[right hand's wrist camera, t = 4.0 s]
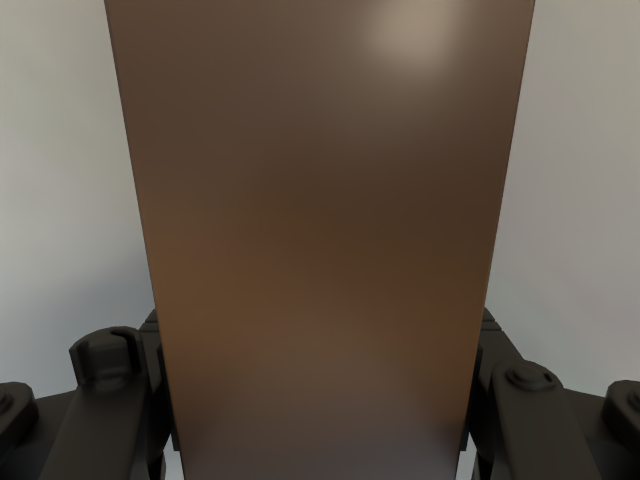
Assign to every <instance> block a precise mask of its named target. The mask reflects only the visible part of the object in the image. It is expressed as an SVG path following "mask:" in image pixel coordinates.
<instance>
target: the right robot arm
mask: <svg viewBox="0 0 640 480" xmlns="http://www.w3.org/2000/svg"><path fill="white" fill-rule="evenodd" d="M69 353H70V357H71V361H72V364H73V368H74V372H75V376H76V379H77V383H78V386H77V388H76V390H74V391H70V392H66V393H62V394H57V395H53V396H48V397H43V398H38V399H35V397H34V394H33V391H32V388H31V387H29V386H28V385H27V384H26V383H19V382H9V383H1V384H0V480H165V473H166V463H165V457H164V451H163V450H164V447H165V445H166V443H167V440H168V438H169V436H170V433H171V437H172V443H173V449H174V451H179V445H178V439H177V433H176V427H175V421H174V415H173V409H172V403H171V397H170V391H169V385H168V379H167V373H166V367H165V361H164V355H163V349H162V343H161V337H160V331H159V325H158V319H157V314H156V308H155V309H154V310H153V311H152V312H151V313H150V315H149V316H148V318H147V319H146V320H145V323H143V325H142V326H141V327H140V329H139V330H137V329H135V328H131V327H127V326H120V327H110V328H105V329H101V330H98V331H95V332H93V333H90V334H88V335H86V336H84V337H83V338H81V339H80V340H78V341H77V342H75V343H74V345H73V346H72V347H71V348H70V349H69ZM469 432H470V434H471V437H472V439H473V441H474V444H475V446H476V448H477V451H476V457H475V462H474V468H473V473H472V478H471V480H640V382H638V381H630V380H622V381H615V382H614V383H612V384H611V385H610V386H609V387H608V390H607V393H606V396H605V397H600V396H596V395H591V394H586V393H582V392H577V391H573V390H569V389H565V388H563V385H562V383H561V382H560V381H559V379H558V378H557V376H556V375H554V374H553V373H552V372H550V371H549V370H548V369H547V368H545V367H543V366H541V365H538V364H536V363H534V362H531V361H527V360H524V359H523V357H522V356H521V355H520V353H519V352H518V351H517V349H516V348H515V346H514V345H513V344H512V342H511V341H510V340H509V338H508V337H507V335H506V334H505V333H504V331H502V329H501V327H500V326H499V325H498V323H497V322H495V319H494V318H493V316H492V315H491V314H490V312H489V311H488V309H487V308H485V307H484V311H483V317H482V323H481V329H480V335H479V341H478V347H477V353H476V359H475V365H474V371H473V377H472V383H471V389H470V395H469V401H468V407H467V413H466V419H465V425H464V431H463V437H462V443H461V449H460V451H466V447H467V442H468V436H469Z"/></svg>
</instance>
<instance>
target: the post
mask: <svg viewBox="0 0 640 480" xmlns="http://www.w3.org/2000/svg"><path fill="white" fill-rule="evenodd" d="M104 3H105V9H106V15H107V21H108V27H109V33H110V39H111V44H112V50H113V56H114V62H115V68H116V74H117V80H118V86H119V92H120V98H121V104H122V110H123V116H124V122H125V128H126V134H127V140H128V146H129V152H130V158H131V164H132V170H133V176H134V182H135V188H136V194H137V200H138V206H139V212H140V218H141V224H142V230H143V236H144V242H145V248H146V254H147V260H148V266H149V272H150V278H151V284H152V290H153V296H154V302H155V308H156V314H157V319H158V325H159V331H160V337H161V343H162V349H163V355H164V361H165V367H166V373H167V379H168V385H169V391H170V397H171V403H172V409H173V415H174V421H175V427H176V433H177V439H178V445H179V451H180V457H181V463H182V469H183V475H184V480H455V479H456V473H457V467H458V461H459V455H460V449H461V443H462V437H463V431H464V425H465V419H466V413H467V407H468V401H469V395H470V389H471V383H472V377H473V371H474V365H475V359H476V353H477V347H478V341H479V335H480V329H481V323H482V317H483V311H484V305H485V299H486V293H487V287H488V281H489V275H490V269H491V263H492V257H493V251H494V245H495V239H496V233H497V227H498V221H499V215H500V209H501V203H502V197H503V191H504V185H505V179H506V173H507V167H508V161H509V155H510V149H511V143H512V137H513V131H514V125H515V119H516V113H517V107H518V101H519V95H520V89H521V83H522V77H523V71H524V65H525V59H526V53H527V47H528V41H529V35H530V29H531V23H532V17H533V11H534V5H535V0H104Z"/></svg>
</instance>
